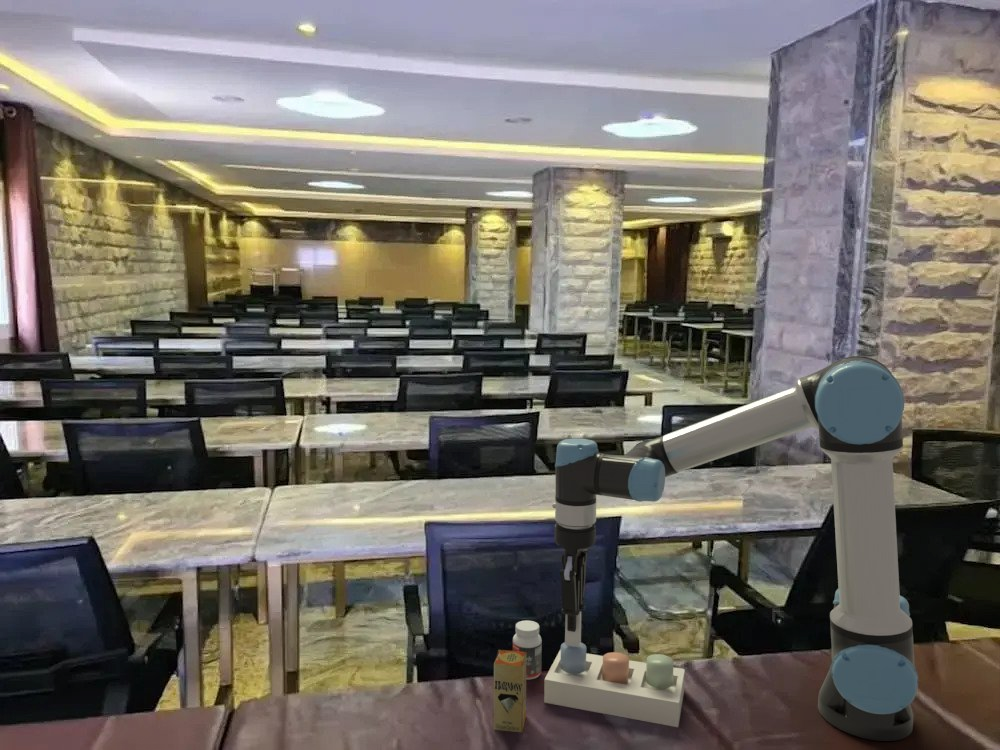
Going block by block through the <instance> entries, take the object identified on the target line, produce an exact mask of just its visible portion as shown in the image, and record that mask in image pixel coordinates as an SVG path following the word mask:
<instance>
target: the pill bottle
mask: <svg viewBox="0 0 1000 750" xmlns="http://www.w3.org/2000/svg"><path fill="white" fill-rule="evenodd" d="M542 641H543V640H542V637H541V635H540V625H539V623H538V622H536V621H533V620H521V621H518V622H516V623H515V634H514V635H513V637H512V651H520V652H526V681H527V680H528V681H530V680H534V679H537V678H538V677H540V675H541V674H542V652H543V651H542V650H543V649H542V647H543V646H542Z"/></svg>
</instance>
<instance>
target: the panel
mask: <svg viewBox="0 0 1000 750" xmlns="http://www.w3.org/2000/svg"><path fill="white" fill-rule="evenodd" d="M603 656H604V655H599V654H592V653H587V652H586V670H585V671H584V672H582V673H578V674H571V673H567V672H565V671H563V670H562V669H561V648H560V649H559V651H558V653H557V654H556V657H555V659H553V663H552V664H551V666H550V668H549V670H548V672H547V674H546V676H544V677H545V678H544V681H543V682H544V690H543V691H544V697H543V701H544V704H550V705H556V706H560V707H566V708H572V709H577V710H578V709H579V710H582V711H588V712H591V713H592V712H593V713H598V714H599V713H600V714H604V715H610V716H615V717H620V718H626V719H630V720H638V721H642V722H648V723H653V724H657V725H658V724H659V725H664V726H668V727H669V726H670V727H673V728H679V726H680V719H681V712H682V707H683V700H684V695H685V694H684V693H685V673H686V670H685V669H684V668H681V667H674V666H673V685H672V686H671V687H669V688H665V689H660V688H655V687H652V686H650V685H649V684H648V683H647V682H646V662H643V661H637V660H630V659H629V681H628V683H627V684H620V683H614V682H608V681H603V679H602V673H603Z"/></svg>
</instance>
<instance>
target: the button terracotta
mask: <svg viewBox="0 0 1000 750" xmlns="http://www.w3.org/2000/svg"><path fill="white" fill-rule="evenodd" d="M602 656H603V673H602V679H603V681H608V682H614V683H620V684H627V683H628V681H629V660H630V658H629V656H628V655H626V654H625V653H622V652H616V651H615V652H614V651H613V652H607V653H604V654H603V655H602Z"/></svg>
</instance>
